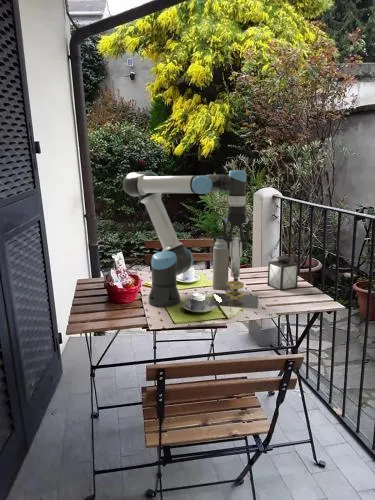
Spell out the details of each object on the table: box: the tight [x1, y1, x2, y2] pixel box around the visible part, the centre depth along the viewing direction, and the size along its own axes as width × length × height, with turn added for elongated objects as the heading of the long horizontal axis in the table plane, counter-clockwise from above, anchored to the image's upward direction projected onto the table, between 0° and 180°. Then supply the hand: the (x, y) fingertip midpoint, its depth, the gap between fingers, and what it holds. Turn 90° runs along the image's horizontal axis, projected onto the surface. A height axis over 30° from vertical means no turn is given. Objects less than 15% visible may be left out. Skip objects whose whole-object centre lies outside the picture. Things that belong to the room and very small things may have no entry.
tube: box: [230, 237, 242, 278], centre depth 190 cm, size 4×4×18 cm
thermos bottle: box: [212, 235, 230, 292], centre depth 213 cm, size 8×8×28 cm
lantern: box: [267, 235, 299, 292], centre depth 217 cm, size 11×11×28 cm
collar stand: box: [208, 277, 259, 309], centre depth 193 cm, size 22×18×10 cm
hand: (235, 255), depth 189 cm, fingers closed on tube, 4 cm apart
